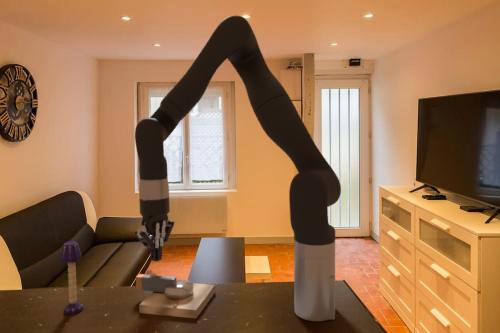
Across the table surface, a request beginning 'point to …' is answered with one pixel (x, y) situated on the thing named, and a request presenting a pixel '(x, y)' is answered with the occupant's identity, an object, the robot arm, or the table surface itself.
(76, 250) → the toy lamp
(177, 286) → the orange-tipped lever
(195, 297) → the board
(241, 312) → the table surface
